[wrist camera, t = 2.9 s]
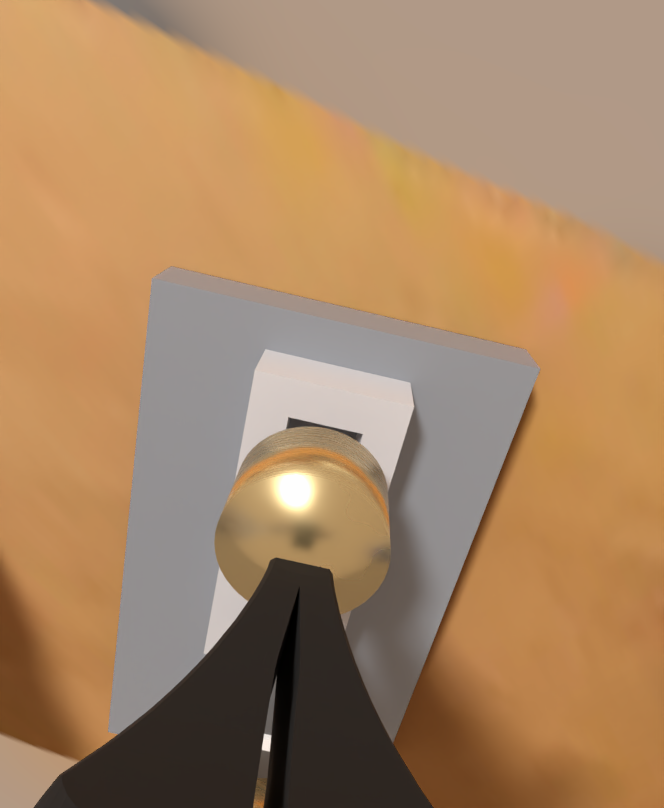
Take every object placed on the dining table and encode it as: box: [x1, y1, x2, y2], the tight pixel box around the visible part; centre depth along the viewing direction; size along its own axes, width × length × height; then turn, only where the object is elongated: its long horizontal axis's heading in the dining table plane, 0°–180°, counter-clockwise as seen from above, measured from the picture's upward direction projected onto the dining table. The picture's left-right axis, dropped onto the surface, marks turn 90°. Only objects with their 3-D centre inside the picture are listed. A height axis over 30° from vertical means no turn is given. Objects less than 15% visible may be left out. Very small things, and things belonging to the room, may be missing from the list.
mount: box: [108, 266, 540, 742], centre depth 24 cm, size 13×22×4 cm, turn 167°
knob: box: [214, 426, 391, 614], centre depth 17 cm, size 4×4×5 cm
